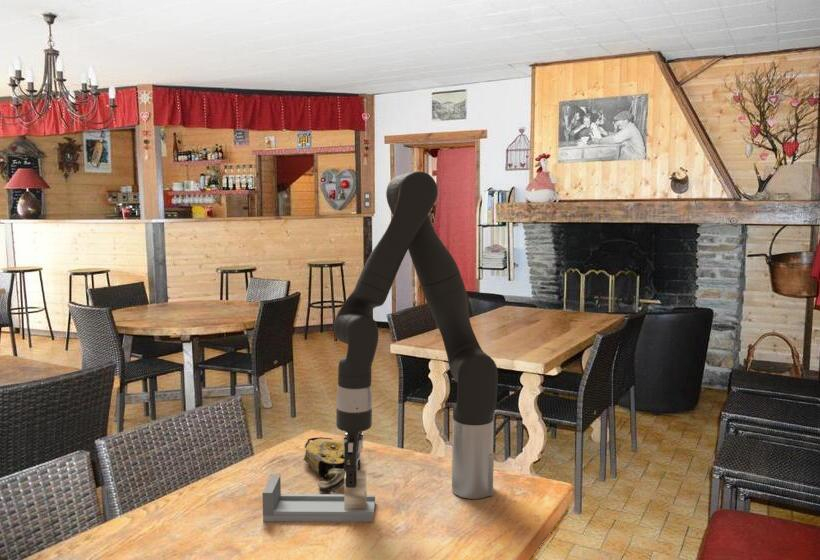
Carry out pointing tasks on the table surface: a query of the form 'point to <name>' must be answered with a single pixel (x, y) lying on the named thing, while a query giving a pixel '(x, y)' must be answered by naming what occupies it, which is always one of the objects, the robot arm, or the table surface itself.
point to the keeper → (356, 493)
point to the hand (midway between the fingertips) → (353, 478)
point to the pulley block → (327, 461)
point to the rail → (310, 506)
